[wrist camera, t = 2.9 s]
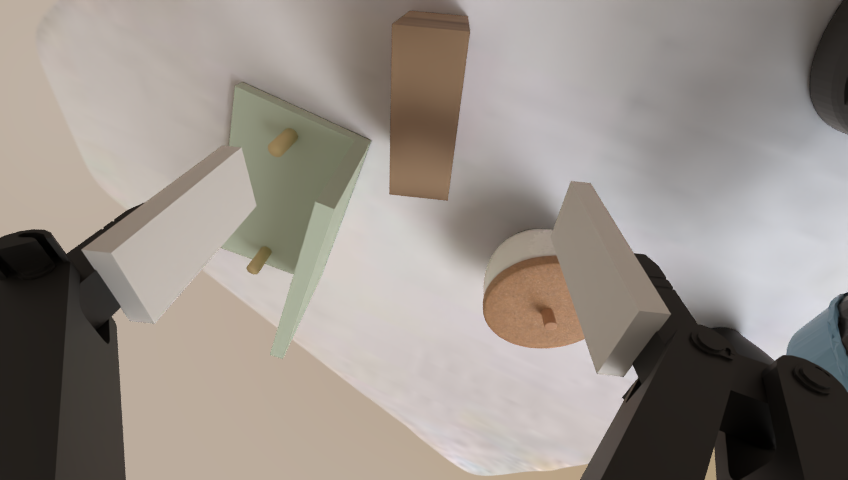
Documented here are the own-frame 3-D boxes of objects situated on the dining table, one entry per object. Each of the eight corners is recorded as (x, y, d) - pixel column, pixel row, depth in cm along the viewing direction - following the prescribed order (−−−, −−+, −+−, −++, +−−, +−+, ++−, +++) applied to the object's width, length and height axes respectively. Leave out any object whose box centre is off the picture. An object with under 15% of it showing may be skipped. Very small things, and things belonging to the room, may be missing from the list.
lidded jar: (473, 216, 34) (476, 285, 27) (591, 201, 32) (630, 271, 24) (485, 294, 40) (491, 367, 33) (585, 285, 38) (615, 361, 31)
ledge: (242, 82, 28) (143, 131, 19) (371, 140, 30) (334, 209, 21) (224, 240, 39) (155, 318, 30) (321, 275, 41) (282, 358, 32)
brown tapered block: (407, 10, 24) (389, 24, 18) (467, 16, 24) (470, 31, 18) (402, 147, 30) (387, 193, 24) (450, 152, 30) (447, 200, 24)
